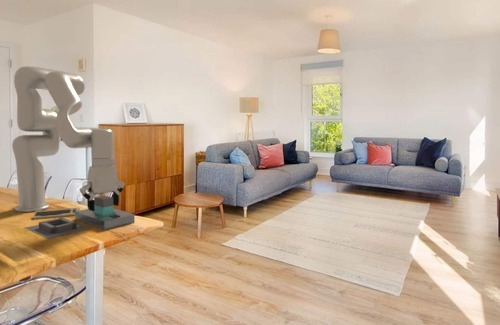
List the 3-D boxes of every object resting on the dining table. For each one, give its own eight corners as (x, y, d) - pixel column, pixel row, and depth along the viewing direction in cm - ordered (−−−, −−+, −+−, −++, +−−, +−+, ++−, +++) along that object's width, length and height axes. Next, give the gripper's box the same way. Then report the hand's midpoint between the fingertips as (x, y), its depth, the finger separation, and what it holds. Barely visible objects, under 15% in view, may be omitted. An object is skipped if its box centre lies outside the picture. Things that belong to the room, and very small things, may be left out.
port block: (75, 221, 128) (74, 211, 128) (104, 215, 138) (104, 205, 138) (104, 232, 117) (104, 221, 116) (134, 224, 127) (134, 213, 126)
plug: (94, 223, 128) (94, 197, 126) (104, 220, 131) (104, 195, 130) (103, 226, 124) (103, 199, 123) (113, 223, 127) (113, 197, 126)
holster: (24, 230, 117) (24, 222, 117) (65, 221, 129) (65, 213, 128) (48, 242, 107) (48, 233, 106) (91, 231, 118) (91, 222, 118)
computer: (32, 223, 127) (32, 214, 126) (35, 217, 134) (35, 209, 133) (79, 219, 133) (79, 211, 133) (80, 214, 141) (79, 206, 140)
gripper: (117, 159, 134) (118, 201, 136) (74, 163, 120) (75, 210, 122) (129, 161, 130) (129, 205, 132) (85, 165, 116) (86, 214, 118)
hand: (103, 207), depth 127 cm, fingers open, 9 cm apart
